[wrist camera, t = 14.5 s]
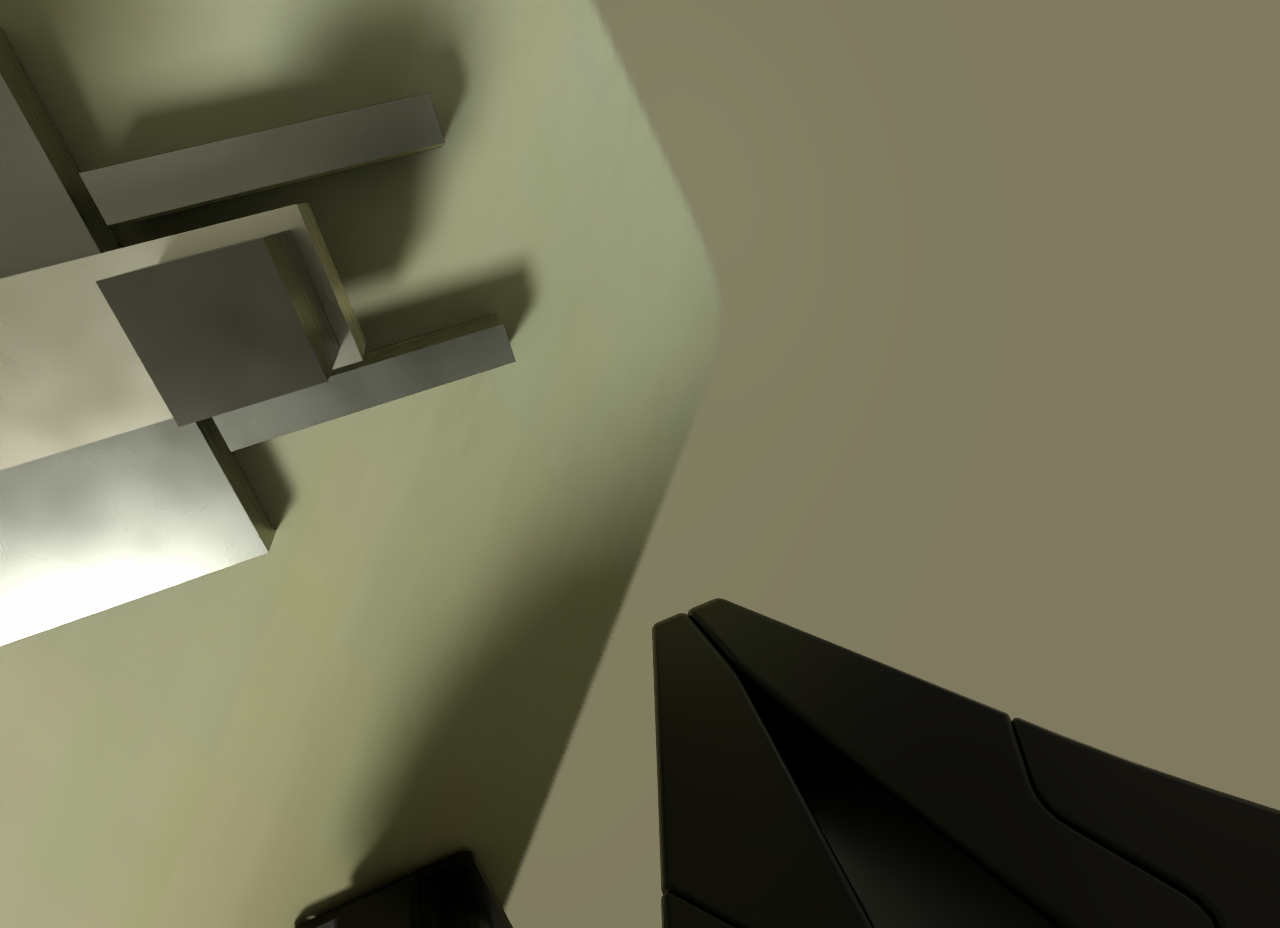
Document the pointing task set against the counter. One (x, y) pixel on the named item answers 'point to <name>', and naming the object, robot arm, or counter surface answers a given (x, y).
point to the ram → (169, 332)
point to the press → (163, 452)
